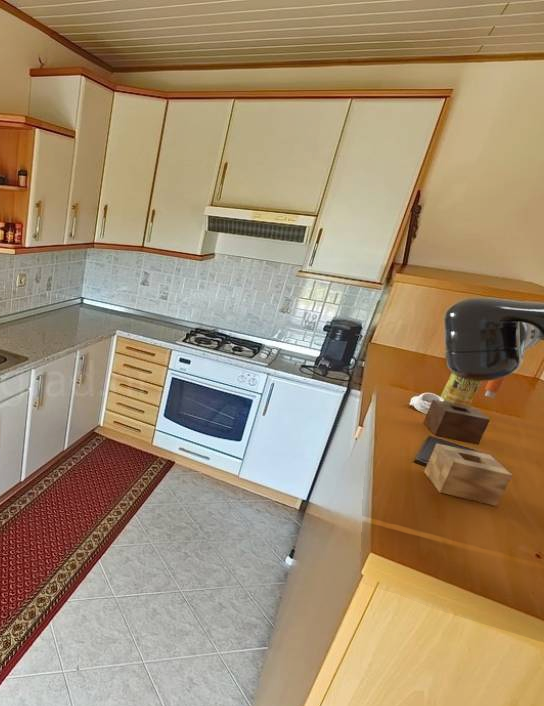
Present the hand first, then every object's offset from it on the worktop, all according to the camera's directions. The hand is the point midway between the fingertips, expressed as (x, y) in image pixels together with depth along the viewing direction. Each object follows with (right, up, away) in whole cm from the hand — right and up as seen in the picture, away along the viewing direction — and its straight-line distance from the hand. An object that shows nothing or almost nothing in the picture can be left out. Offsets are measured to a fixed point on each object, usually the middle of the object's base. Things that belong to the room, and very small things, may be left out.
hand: (525, 322), depth 83 cm
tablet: (0, -26, +14) cm, 29 cm away
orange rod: (-4, -13, +3) cm, 13 cm away
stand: (-9, -29, +3) cm, 30 cm away
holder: (+12, -22, +29) cm, 38 cm away
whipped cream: (+17, -18, +42) cm, 49 cm away
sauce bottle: (+28, -17, +46) cm, 57 cm away
